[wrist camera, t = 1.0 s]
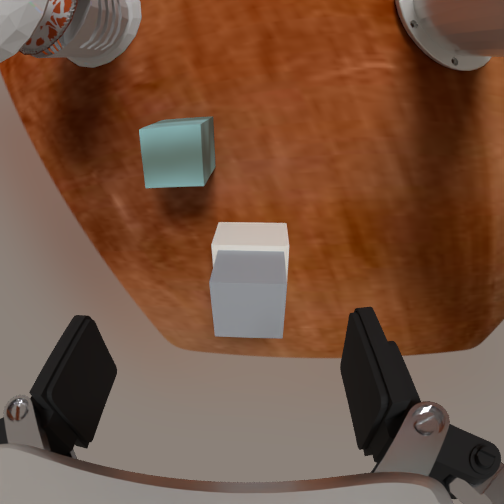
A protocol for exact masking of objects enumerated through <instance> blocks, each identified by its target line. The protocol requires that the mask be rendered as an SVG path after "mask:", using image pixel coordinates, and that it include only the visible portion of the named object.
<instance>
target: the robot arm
mask: <svg viewBox="0 0 504 504" xmlns="http://www.w3.org/2000/svg"><path fill="white" fill-rule="evenodd" d="M395 2H396V7H397V11H398V15H399V17H400V19H401V22H402V24H403V26H404V28H405V30H406V31H407V33H408V35H409V36H410V37H411V39H412V40H413V41H414V43H415V44H416V45H417V46H418V47H419V48H420V49H421V50H422V51H423V52H424V53H425V54H426V55H427V56H429V57H430V58H431V59H432V60H434V61H435V62H437V63H439V64H441V65H443V66H445V67H448V68H451V69H454V70H461V71H470V70H475V69H478V68H480V67H482V66H484V65H485V64H486V63H487V62H488V61H489V60H490V59H491V57H504V0H395ZM410 24H412V26H411V25H410ZM340 368H341V375H342V379H343V383H344V387H345V391H346V396H347V400H348V404H349V409H350V413H351V417H352V422H353V427H354V431H355V436H356V441H357V445H358V448H359V449H360V450H361V449H363V450H364V455H365V456H368V455H373V458H374V461H375V462H377V464H376V465H375V467H374V468H373V470H372V471H371V473H364V474H356V475H348V476H339V477H331V478H322V479H313V480H299V481H284V482H256V483H255V482H254V483H242V482H240V483H239V482H237V483H236V482H211V481H197V480H185V479H176V478H167V477H160V476H153V475H146V474H140V473H135V472H129V471H124V470H119V469H114V468H110V467H105V466H101V465H97V464H93V463H89V462H85V461H81V460H78V459H77V457H76V455H75V452H74V450H73V447H74V444H75V445H76V446H80V447H83V448H88V445H89V442H92V440H93V438H94V435H95V432H96V429H97V426H98V423H99V421H100V418H101V415H102V412H103V409H104V407H105V404H106V401H107V398H108V396H109V393H110V390H111V388H112V385H113V383H114V380H115V377H116V374H117V368H116V365H115V363H114V361H113V359H112V357H111V355H110V353H109V351H108V349H107V347H106V345H105V343H104V341H103V339H102V336H101V334H100V332H99V330H98V328H97V325H96V323H95V321H94V320H92V319H91V317H89V316H82V315H76V316H74V317H73V319H72V320H71V322H70V324H69V325H68V327H67V328H66V330H65V331H64V333H63V335H62V336H61V338H60V340H59V341H58V343H57V345H56V346H55V348H54V350H53V351H52V353H51V355H50V356H49V358H48V360H47V362H46V363H45V365H44V367H43V369H42V370H41V372H40V374H39V376H38V377H37V379H36V381H35V383H34V385H33V387H32V389H31V390H30V394H31V395H32V397H31V398H29V397H27V396H25V395H18V396H15V397H13V398H12V399H10V401H8V403H7V404H6V406H5V409H4V417H3V418H1V419H0V504H453V502H452V499H459V500H460V501H461V502H462V503H463V504H504V464H503V463H502V462H501V455H500V452H499V450H498V448H497V447H496V446H495V445H494V444H493V443H491V442H489V441H486V440H484V439H482V438H480V437H477V436H475V435H473V434H471V433H468V432H466V431H464V430H462V429H459V428H457V427H455V426H453V425H451V424H449V423H450V421H449V415H448V414H447V412H446V410H445V409H444V408H443V407H442V406H441V405H439V404H437V403H434V402H430V401H427V402H421V401H420V398H419V396H418V393H417V391H416V389H415V386H414V383H413V381H412V379H411V376H410V374H409V371H408V369H407V367H406V364H405V362H404V360H403V357H402V355H401V353H400V351H399V348H398V346H397V344H396V343H395V342H394V341H387V339H386V337H385V335H384V332H383V330H382V328H381V325H380V323H379V321H378V319H377V317H376V314H375V312H374V310H373V308H372V307H364V308H356V309H355V311H354V313H350V315H349V320H348V326H347V332H346V338H345V343H344V349H343V354H342V359H341V367H340Z"/></svg>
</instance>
